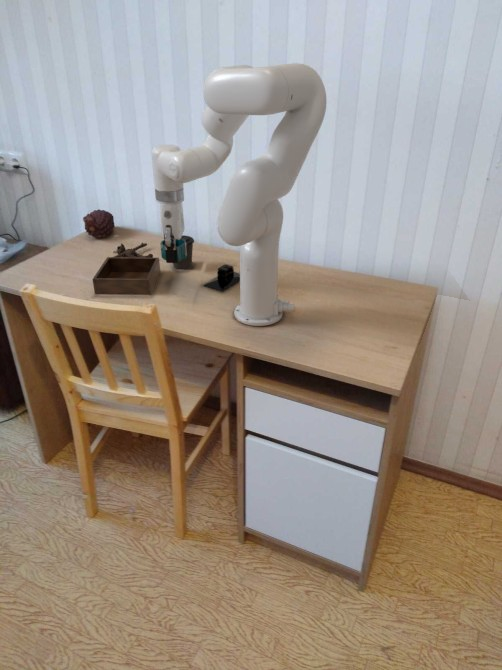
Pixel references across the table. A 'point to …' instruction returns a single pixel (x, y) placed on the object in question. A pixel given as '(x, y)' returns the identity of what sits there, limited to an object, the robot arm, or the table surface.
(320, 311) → the table surface
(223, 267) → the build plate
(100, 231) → the pine cone
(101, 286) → the open wooden box
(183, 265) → the coffee cup
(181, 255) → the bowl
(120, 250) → the brown branch
